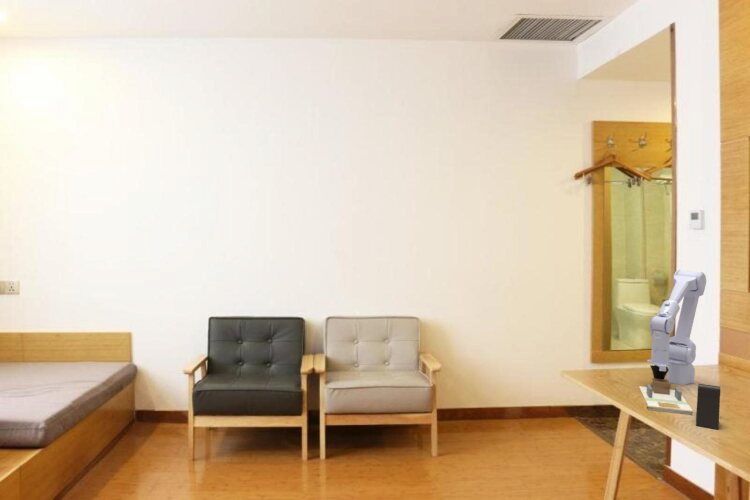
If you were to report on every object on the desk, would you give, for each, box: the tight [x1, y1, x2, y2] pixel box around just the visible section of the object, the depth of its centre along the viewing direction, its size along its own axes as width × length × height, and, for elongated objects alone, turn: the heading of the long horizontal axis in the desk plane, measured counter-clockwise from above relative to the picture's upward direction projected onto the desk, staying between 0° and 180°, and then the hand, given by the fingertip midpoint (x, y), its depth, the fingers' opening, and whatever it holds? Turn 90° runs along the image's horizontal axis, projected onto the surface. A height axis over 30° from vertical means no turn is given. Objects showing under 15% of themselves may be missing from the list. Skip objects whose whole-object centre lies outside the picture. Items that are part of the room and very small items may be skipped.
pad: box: [644, 398, 689, 405], centre depth 195 cm, size 4×13×2 cm, turn 72°
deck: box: [638, 384, 694, 416], centre depth 199 cm, size 24×13×4 cm, turn 162°
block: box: [651, 377, 671, 395], centre depth 206 cm, size 5×5×4 cm
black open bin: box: [695, 383, 721, 430], centre depth 178 cm, size 9×6×12 cm, turn 150°
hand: (658, 386), depth 211 cm, fingers closed
